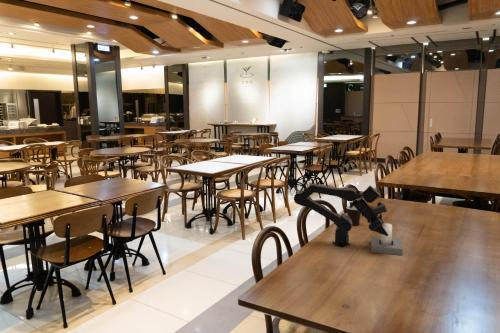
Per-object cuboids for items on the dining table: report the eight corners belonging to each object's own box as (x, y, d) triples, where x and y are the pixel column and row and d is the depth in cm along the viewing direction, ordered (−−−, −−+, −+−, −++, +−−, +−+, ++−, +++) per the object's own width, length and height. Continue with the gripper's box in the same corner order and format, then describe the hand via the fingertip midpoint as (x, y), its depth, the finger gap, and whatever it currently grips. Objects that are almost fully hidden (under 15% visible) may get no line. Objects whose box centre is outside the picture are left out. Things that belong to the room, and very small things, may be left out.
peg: (382, 250, 181) (383, 226, 180) (379, 246, 186) (380, 223, 184) (392, 250, 181) (393, 226, 179) (389, 246, 186) (390, 223, 184)
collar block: (370, 252, 179) (371, 246, 179) (371, 241, 193) (371, 236, 192) (402, 255, 175) (402, 249, 175) (400, 244, 188) (400, 238, 188)
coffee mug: (357, 227, 215) (358, 210, 214) (343, 224, 220) (344, 208, 219) (365, 222, 224) (365, 206, 223) (351, 219, 230) (351, 204, 228)
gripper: (377, 203, 173) (401, 228, 171) (377, 193, 190) (399, 216, 188) (359, 218, 176) (382, 242, 175) (360, 207, 194) (381, 230, 192)
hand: (387, 232), depth 182 cm, fingers open, 9 cm apart
